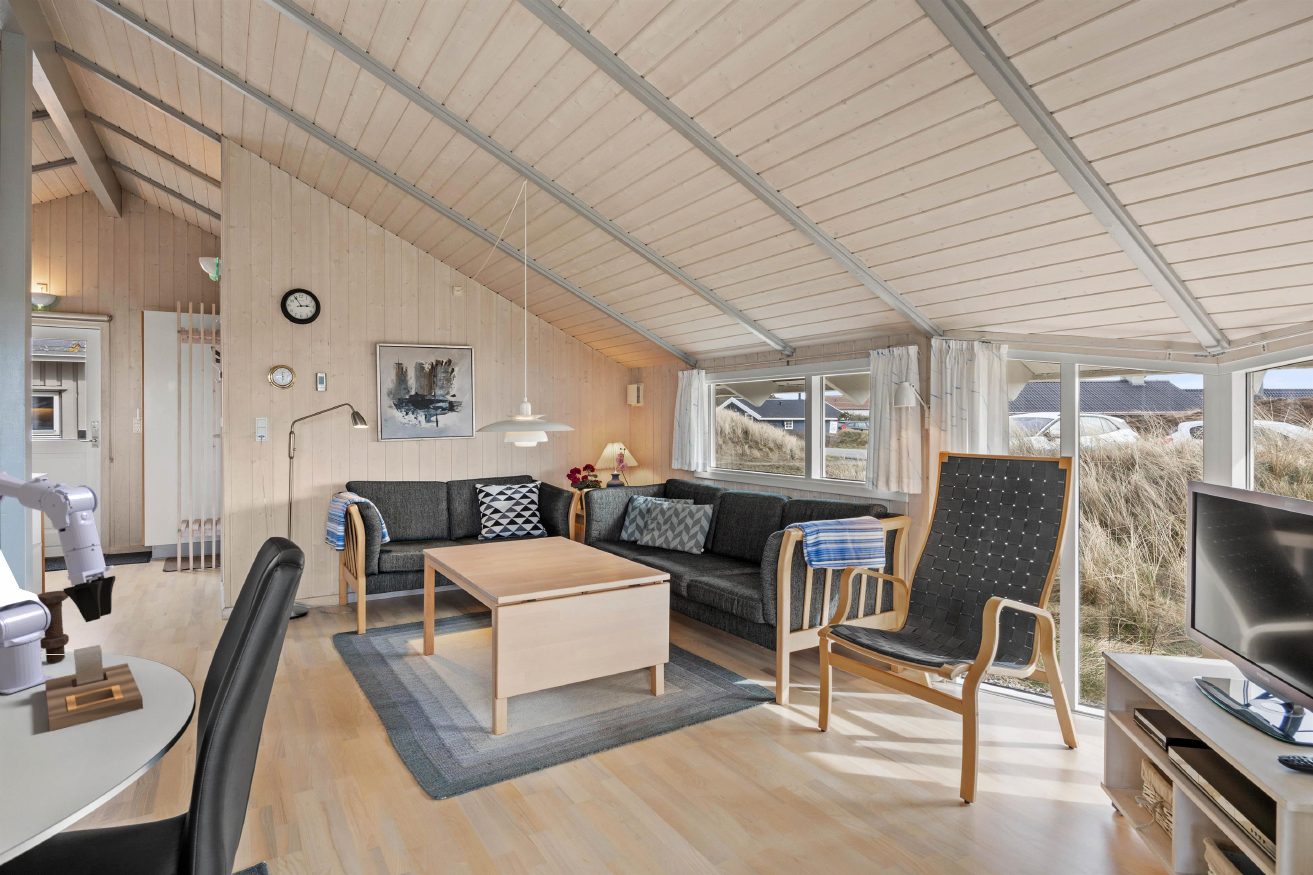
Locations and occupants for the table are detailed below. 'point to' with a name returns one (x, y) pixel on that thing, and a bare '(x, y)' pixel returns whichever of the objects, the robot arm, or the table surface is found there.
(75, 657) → the steel peg
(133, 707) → the wooden peg hole board
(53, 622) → the bolt
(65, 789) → the table surface
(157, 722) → the table surface
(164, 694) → the table surface
